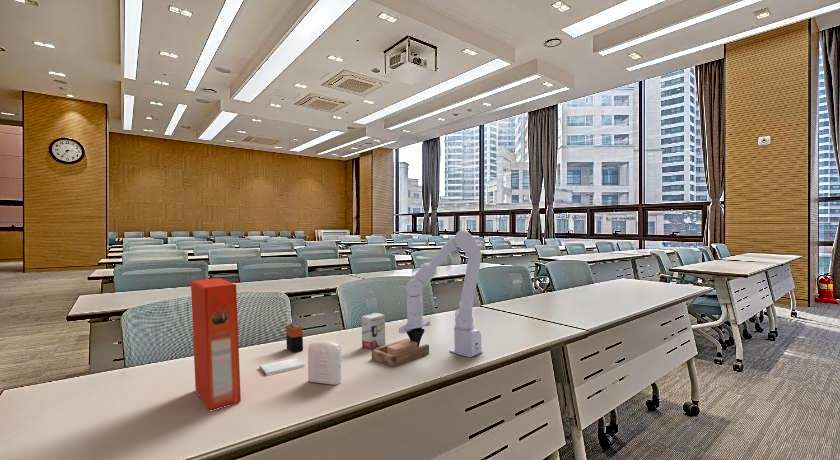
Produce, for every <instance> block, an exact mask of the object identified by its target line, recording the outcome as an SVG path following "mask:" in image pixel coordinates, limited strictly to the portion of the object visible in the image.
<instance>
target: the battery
mask: <svg viewBox="0 0 840 460" xmlns="http://www.w3.org/2000/svg"><path fill="white" fill-rule="evenodd" d="M285 327H286V328H285V332H286V333H285V334H286V336H285V337H286V340H285V341H286V349H287V350H288V351H289V352H291V353H293V352H294V353H298V351H299V352H302V351H303V350H304V339H303V337H304V336H303V335H304V334H303V331H304V330H303V326H301V325H300V324H299V323H297V322H295V321H291V322H290V323H289V324H286V325H285Z"/></svg>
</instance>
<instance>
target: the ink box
mask: <svg viewBox="0 0 840 460" xmlns="http://www.w3.org/2000/svg"><path fill="white" fill-rule="evenodd" d="M385 315H386V314H384V313H383V314H382V313H379V312H373V313H370V314H366V315H363V316H361V347H362V348H365V349H369V350H373V349H376V348H379V347H382V346H384V345H386V316H385Z"/></svg>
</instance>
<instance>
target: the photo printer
mask: <svg viewBox="0 0 840 460" xmlns="http://www.w3.org/2000/svg"><path fill="white" fill-rule="evenodd" d="M307 359H308V360H307V364H308V365H307V367H308V368H307V370H308V371H307V372H308V373H307V374H308V375H307V376H308V377H307V379H308V382H312V383H317V384H325V385H335V386H337V385H339V384H340V383H342V382H341V381H342V348H341V346H340V344H338V343H337V342H334V341H330V340H316V341H312V342H310V343H309V345H308V347H307Z"/></svg>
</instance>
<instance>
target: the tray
mask: <svg viewBox="0 0 840 460" xmlns="http://www.w3.org/2000/svg"><path fill="white" fill-rule="evenodd" d="M406 340H410V338H405V339H402V340H399V341H396V342H393V343H390V344H385V345H381V346H378V347H376V348H373V349H371V360H373V361H376V362H378V363H382V364H385V365H387V366H390V367H393V368H395V367H397V366H400V365H402V364H405V363H407V362H411V361H414V360H416V359H419V358H422V357H424V356H427V355H429V354H430V344H428V343H427V344H423V345H419V347H417V348H414V349H411V350H408V351H405V352H402V353H399V354H397V355H391V354H388V353H387V347H388V346H391V345H394V344H397V343H399V342H403V341H406Z"/></svg>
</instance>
